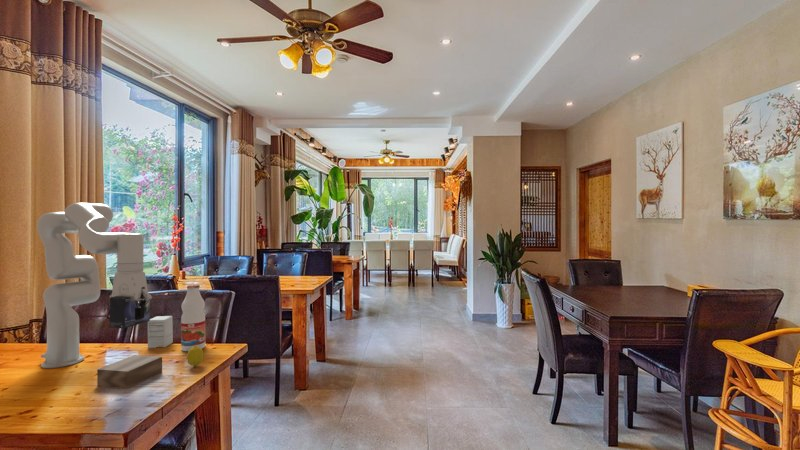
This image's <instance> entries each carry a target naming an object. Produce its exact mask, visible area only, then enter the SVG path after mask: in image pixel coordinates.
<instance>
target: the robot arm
mask: <svg viewBox="0 0 800 450" xmlns="http://www.w3.org/2000/svg"><path fill="white" fill-rule="evenodd" d="M113 218H114V212H113V210H112V208H111V207H110V206H109V205H107V204H106V203H105V204H104V203H92V202H91V203H90V202H74V203H71V204H70V205H68V206H67V207H66V208H64V211H53V212H52V211H51V212H46V213H43V214H41V215H40V216H39V218H38V220H37V225H36V227H37V233H38V237H40V239H41V242H42V245H43V247H44V259H45V269H46V270H45V271H46V275H47V277H48V278H49V279H50V280H53V281H62V280H63V281H64V280H73V279H75V280H76V279H80V281H69V282H61V283H56V284H52V285H50V286H48V287H47V288H45V290H44V291H43V296H42V297H43V302H44V307H45V312H46V351H45V352H44V353H42V354H41V355H40V358H42V359H43V358H44V361H43V362H42V363H41V368H44V369H56V368H57V369H58V368H62V367H63V368H64V367H66V366H67V367H68V366H72V365H75V364H77V363H80V362H82V361H84V360H85V355H83V354H80V315H79V314H78V312H77V311H76V310H75V309H73V308H72V307H74V306H79V305H84V304H91V303H95V302H96V301H98V300H99V299H100V296H101V283H100V272H99V271H100V270H99V264H98V261H97V260H96V258H95V257H94V256H91V255H90V254H91V253H92V254H93V255H94V254H95V255H108V254H109V255H110V254H116V257H117V258H116V259H117V260H116V266H115V267H116V269H117V270H116V272H115V273H114V277H113V281H112V288H111V289H112V290H111V294H110V295H109V298H110V297H115V296H124V297H131V301H135V304H136V306H137V308H135V319H136V320H138V319H142V318H144V307H145V306H146V304H147V303H148V302H149V301H150V302H151V300H152V298H153V296H152V295H151V293H150V294H149V292H148V281H147V276H146V272H145V271H144V235H143V234H142V233H139V232H138V233H137V232H136V233H135V232H133V233H131V232H107V230H108V229H109V226H110V223H111V222H112V220H113ZM64 234H77V237H78V242H79V244H80V245H81V247H82V248H84V250H86V251H88V252H89V253H90V254H89V255H88V254H80V255H79V254H78V255H77V254H76V255H75V252H74V245H73V243H72V241H71V240H70V239H69V238H68V237H67V236H66V235H64ZM142 295H143V296H142ZM140 297H141V298H140ZM139 298H140V299H139ZM139 301H141V303H140V302H139Z"/></svg>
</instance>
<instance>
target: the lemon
mask: <svg viewBox="0 0 800 450" xmlns="http://www.w3.org/2000/svg"><path fill="white" fill-rule="evenodd" d="M204 354H205V353H204V351H203V348H202V349H201V348H200V347H197V346H194V347H193V348H191V349H190V350H189V351H187V355H186V359H187V360H186V361H187V363H188V365H190V366H193V367H194V368H197V366H198V365H201V363H202V362H203V359H204Z"/></svg>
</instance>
